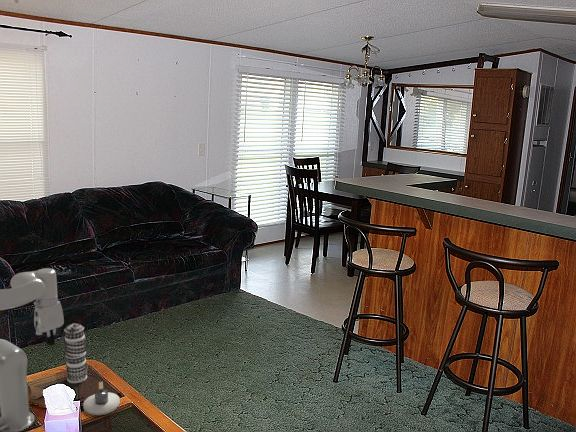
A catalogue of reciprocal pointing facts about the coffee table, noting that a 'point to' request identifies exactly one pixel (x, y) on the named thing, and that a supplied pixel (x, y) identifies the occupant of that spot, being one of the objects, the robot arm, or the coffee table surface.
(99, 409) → the white plate
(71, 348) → the grey tall cylinder
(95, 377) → the coffee table surface
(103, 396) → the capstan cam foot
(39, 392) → the sunglasses case
